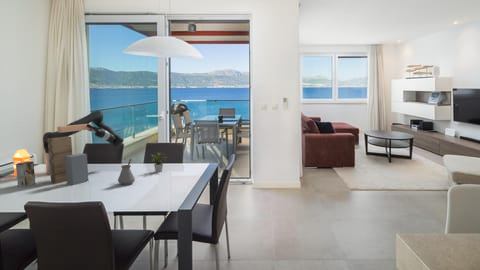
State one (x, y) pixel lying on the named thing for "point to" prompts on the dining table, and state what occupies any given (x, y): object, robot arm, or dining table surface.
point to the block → (73, 128)
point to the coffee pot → (126, 175)
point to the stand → (59, 157)
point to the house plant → (158, 162)
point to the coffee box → (25, 174)
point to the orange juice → (20, 158)
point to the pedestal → (76, 168)
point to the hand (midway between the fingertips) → (85, 125)
